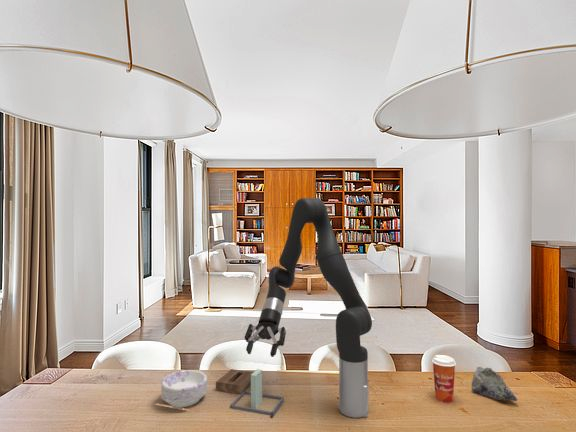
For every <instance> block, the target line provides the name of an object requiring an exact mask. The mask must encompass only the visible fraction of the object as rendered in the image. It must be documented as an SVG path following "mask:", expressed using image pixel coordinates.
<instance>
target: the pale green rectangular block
mask: <svg viewBox="0 0 576 432" xmlns="http://www.w3.org/2000/svg"><path fill="white" fill-rule="evenodd" d="M253 372H254V373H253V374H251V385H250V392H251V395H250V408H253V409H257V408H258V407H259V405H261V403H263V397H262V394H263V369H256V370H254V371H253Z"/></svg>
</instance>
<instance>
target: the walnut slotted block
mask: <svg viewBox="0 0 576 432" xmlns="http://www.w3.org/2000/svg"><path fill="white" fill-rule="evenodd" d="M254 372H255V371H247V370H241V369H234V368H231V369H229V370H228V371H227V372H226V373H224V374H223V375H222V376H221V377H220V378H218V379H217V380H215V391H217V392H223V393H229V394H233V395H238V396H240V395H241V393H242V392H243V391H247V390H248V388H250V387H251V374H253V373H254Z"/></svg>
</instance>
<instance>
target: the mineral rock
mask: <svg viewBox="0 0 576 432" xmlns="http://www.w3.org/2000/svg"><path fill="white" fill-rule="evenodd" d="M471 391H472V392H473V393H477V394H480V395H482V396H484V395H485V396H486V397H488V398H492V399H496V400H499V401H501V400H503V401H513V402H518V397H516V395H515V394H514V393H513V391H512V390H511V388H510V387H509V386H508V385H507V384H506V383H505V381H504V378H503V377H502V376H501V375H499V374H498V372H496V371H494V370H493V369H492V368H491V367H485V368H483V367H482V366H477V367H476V369H475V371H474V373H473V376H472V380H471Z"/></svg>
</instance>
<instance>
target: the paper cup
mask: <svg viewBox="0 0 576 432" xmlns="http://www.w3.org/2000/svg"><path fill="white" fill-rule="evenodd" d="M431 362H432V366H433V367H432V368H433V382H434V394H435V395H434V396H435V399H436V400H437V399H438V400H437V401H438V402H441V401H442V402H441V403H445V402H450V403H452V402H453V401H454V390H455V389H454V387H455V374H456V371H455V370H456V366H457V363H456V360H455V358H453V357H451V356H449V355H444V354H443V355H442V354H435V355H434V356H433V358H432V360H431Z"/></svg>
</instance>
